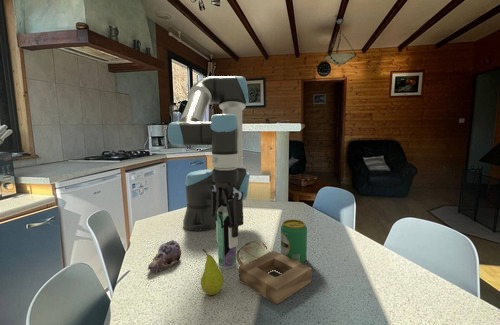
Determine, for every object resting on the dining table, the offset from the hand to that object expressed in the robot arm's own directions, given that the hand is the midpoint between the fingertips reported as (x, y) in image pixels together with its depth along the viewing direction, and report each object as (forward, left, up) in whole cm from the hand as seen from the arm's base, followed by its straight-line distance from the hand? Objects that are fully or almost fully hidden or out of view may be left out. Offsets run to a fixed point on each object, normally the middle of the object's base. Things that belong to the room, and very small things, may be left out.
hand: (227, 243), depth 82 cm
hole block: (+16, +4, -7) cm, 18 cm away
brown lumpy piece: (-13, -14, -7) cm, 21 cm away
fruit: (+9, -12, -7) cm, 16 cm away
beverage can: (+12, +17, -7) cm, 22 cm away
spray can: (0, 0, -7) cm, 7 cm away
